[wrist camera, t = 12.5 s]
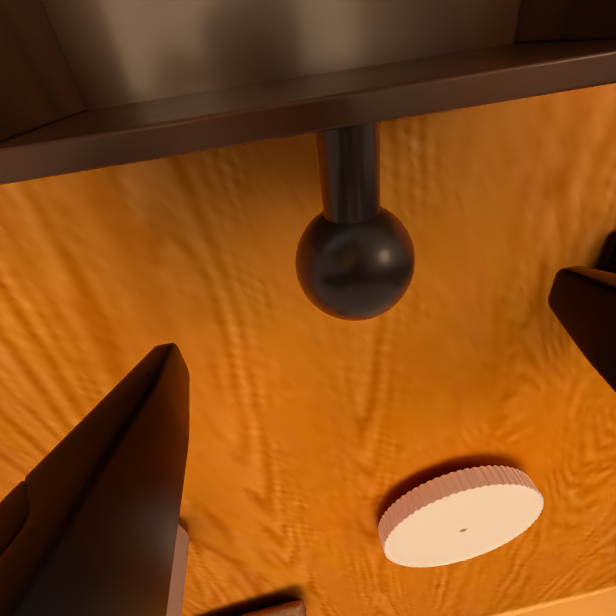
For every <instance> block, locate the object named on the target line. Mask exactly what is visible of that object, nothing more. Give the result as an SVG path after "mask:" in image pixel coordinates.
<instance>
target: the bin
mask: <svg viewBox="0 0 616 616" xmlns="http://www.w3.org/2000/svg"><path fill="white" fill-rule="evenodd" d="M612 83H616V0H0V185H2V184H8V183H14V182H20V181H26V180H32V179H38V178H44V177H50V176H57V175H63V174H69V173H75V172H81V171H87V170H93V169H99V168H105V167H111V166H117V165H123V164H129V163H135V162H141V161H147V160H153V159H159V158H165V157H171V156H177V155H183V154H189V153H195V152H202V151H208V150H214V149H220V148H226V147H232V146H238V145H244V144H250V143H256V142H262V141H268V140H274V139H280V138H286V137H292V136H298V135H304V134H310V133H315V136H316V146H317V156H318V166H319V176H320V186H321V195H322V205H323V212H321V213H320V214H318V215H317V216H316V217H315V218H314V219H313V220H312V221H311V222H310V223H309V225H308V226H307V227H306V229H305V230H304V232H303V234H302V236H301V238H300V241H299V243H298V247H297V252H296V272H297V277H298V280H299V283H300V285H301V288H302V290H303V291H304V293H305V295H306V296H307V297H308V299H309V300H310V301H311V302H312V303H313V304H314V305H315V306H316V307H317V308H319V309H320V310H321V311H323V312H324V313H326V314H328V315H331V316H333V317H335V318H339V319H343V320H351V321H358V320H366V319H370V318H373V317H376V316H378V315H380V314H383V313H384V312H386V311H388V310H389V309H390V308H392V307H393V306H394V305H395V304H396V303H397V302H398V301H399V300H400V299H401V298H402V297H403V295H404V294H405V292H406V291H407V289H408V287H409V285H410V282H411V280H412V277H413V273H414V266H415V253H414V247H413V243H412V240H411V238H410V235H409V233H408V231H407V229H406V228H405V227H404V225H403V224H402V223H401V221H400V220H399V219H398V218H397V217H396V216H395V215H393V214H392V213H391V212H389V211H388V210H387V209H385V208H383V207H381V206H380V122H383V121H389V120H395V119H401V118H407V117H413V116H419V115H425V114H431V113H437V112H443V111H449V110H455V109H461V108H467V107H473V106H479V105H486V104H492V103H498V102H504V101H510V100H516V99H522V98H528V97H534V96H540V95H546V94H552V93H558V92H564V91H570V90H576V89H582V88H588V87H594V86H600V85H606V84H612Z"/></svg>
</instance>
